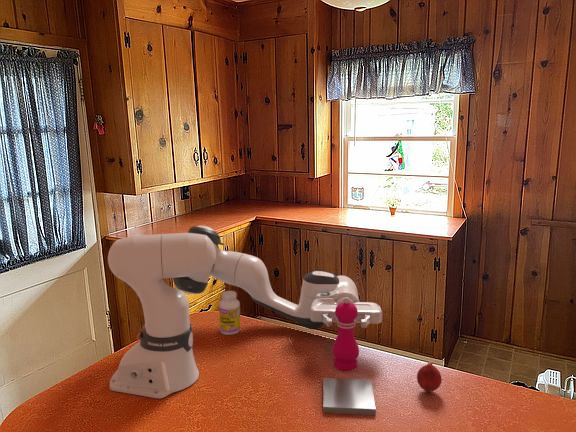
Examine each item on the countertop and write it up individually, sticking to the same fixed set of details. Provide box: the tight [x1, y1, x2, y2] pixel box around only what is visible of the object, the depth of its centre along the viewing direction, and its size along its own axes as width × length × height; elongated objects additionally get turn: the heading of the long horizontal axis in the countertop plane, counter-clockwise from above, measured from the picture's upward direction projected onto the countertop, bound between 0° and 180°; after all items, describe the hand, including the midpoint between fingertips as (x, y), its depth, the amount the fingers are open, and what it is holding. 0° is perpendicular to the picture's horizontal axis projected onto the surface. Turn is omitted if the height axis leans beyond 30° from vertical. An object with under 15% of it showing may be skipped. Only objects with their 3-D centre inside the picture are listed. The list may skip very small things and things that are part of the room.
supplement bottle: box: [218, 290, 241, 336], centre depth 146 cm, size 7×7×13 cm
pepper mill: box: [331, 297, 360, 373], centre depth 124 cm, size 7×7×20 cm
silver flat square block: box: [322, 377, 377, 416], centre depth 111 cm, size 12×12×2 cm
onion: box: [416, 361, 442, 393], centre depth 113 cm, size 6×6×8 cm
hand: (346, 324), depth 124 cm, fingers open, 8 cm apart
